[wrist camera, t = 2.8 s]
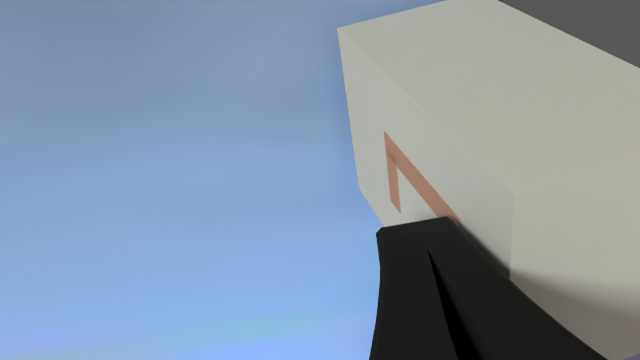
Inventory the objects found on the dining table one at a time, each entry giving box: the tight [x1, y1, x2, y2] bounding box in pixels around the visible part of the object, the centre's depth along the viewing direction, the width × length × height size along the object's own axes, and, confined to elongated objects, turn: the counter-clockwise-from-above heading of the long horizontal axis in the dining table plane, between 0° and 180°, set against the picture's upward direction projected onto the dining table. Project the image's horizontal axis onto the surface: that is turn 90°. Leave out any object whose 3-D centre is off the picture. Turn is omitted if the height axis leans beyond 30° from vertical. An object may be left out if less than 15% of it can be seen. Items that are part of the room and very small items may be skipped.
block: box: [337, 0, 640, 360], centre depth 13 cm, size 4×5×8 cm
